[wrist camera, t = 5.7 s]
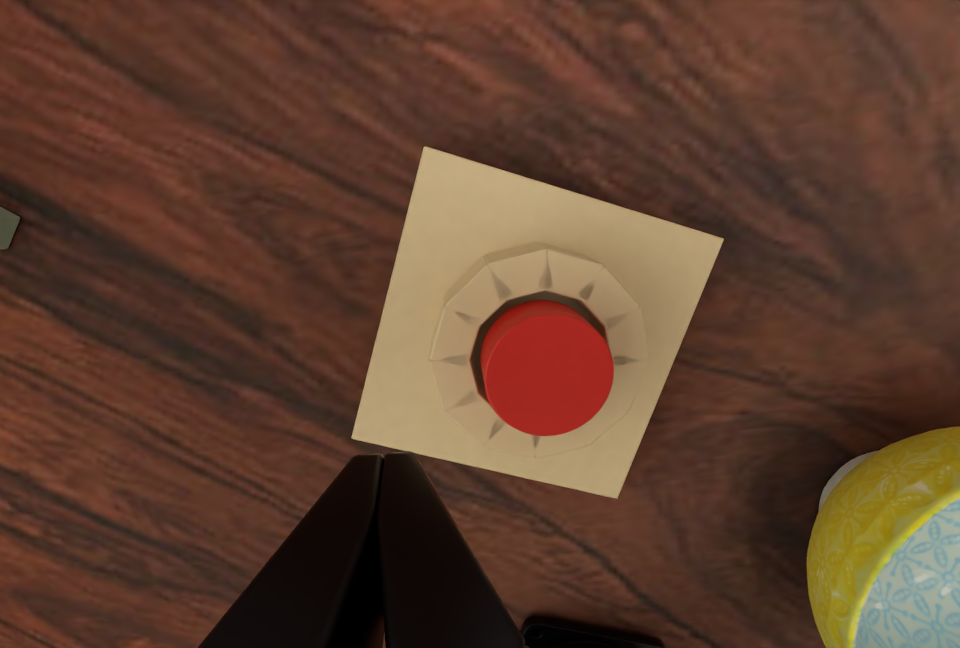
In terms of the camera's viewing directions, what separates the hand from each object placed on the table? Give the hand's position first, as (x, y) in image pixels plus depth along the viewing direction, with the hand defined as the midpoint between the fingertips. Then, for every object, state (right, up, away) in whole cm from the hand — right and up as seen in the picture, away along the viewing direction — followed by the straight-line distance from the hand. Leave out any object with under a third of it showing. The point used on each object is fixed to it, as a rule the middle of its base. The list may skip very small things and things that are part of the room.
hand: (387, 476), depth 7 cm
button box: (+3, +2, +11) cm, 11 cm away
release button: (+3, +1, +8) cm, 9 cm away
